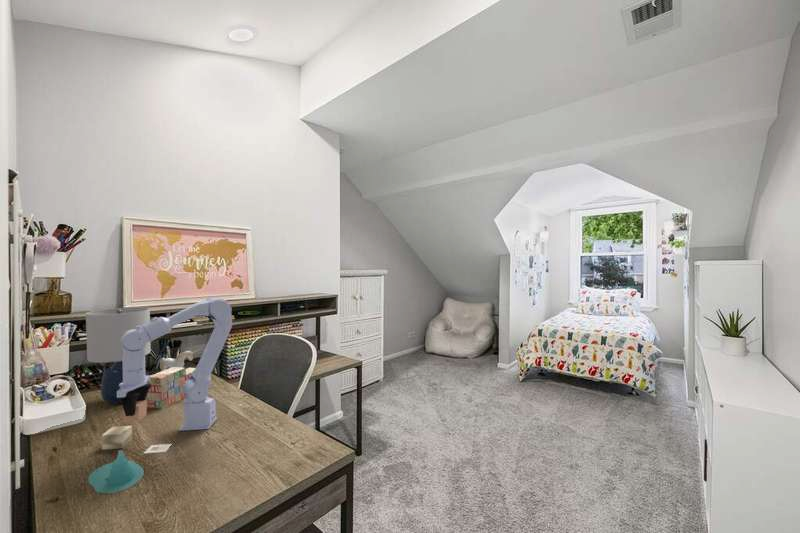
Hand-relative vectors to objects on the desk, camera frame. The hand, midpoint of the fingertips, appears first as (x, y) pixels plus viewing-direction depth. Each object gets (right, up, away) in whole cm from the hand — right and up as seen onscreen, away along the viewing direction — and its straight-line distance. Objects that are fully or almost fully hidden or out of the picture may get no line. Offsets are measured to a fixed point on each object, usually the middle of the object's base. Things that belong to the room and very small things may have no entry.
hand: (134, 412), depth 115 cm
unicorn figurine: (-23, -8, +62) cm, 67 cm away
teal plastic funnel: (+7, -11, -17) cm, 21 cm away
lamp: (-30, -9, +34) cm, 46 cm away
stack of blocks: (-9, -9, +36) cm, 39 cm away
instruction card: (+10, -10, -4) cm, 14 cm away
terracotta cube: (0, -2, 0) cm, 2 cm away
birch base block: (-5, -10, -1) cm, 11 cm away
